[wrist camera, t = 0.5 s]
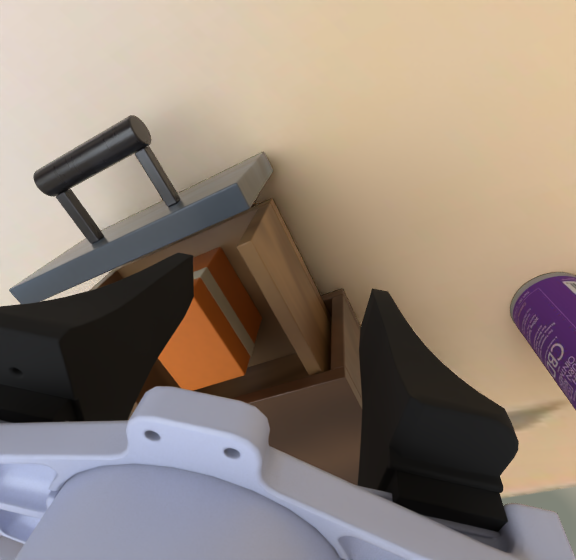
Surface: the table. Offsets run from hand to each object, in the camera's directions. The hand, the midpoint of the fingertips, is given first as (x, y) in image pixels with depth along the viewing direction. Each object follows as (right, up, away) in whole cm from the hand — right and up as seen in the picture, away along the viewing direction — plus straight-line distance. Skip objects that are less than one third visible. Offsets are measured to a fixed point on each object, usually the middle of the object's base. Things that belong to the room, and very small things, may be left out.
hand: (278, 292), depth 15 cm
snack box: (-4, 0, +10) cm, 11 cm away
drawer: (-5, +2, +10) cm, 11 cm away
